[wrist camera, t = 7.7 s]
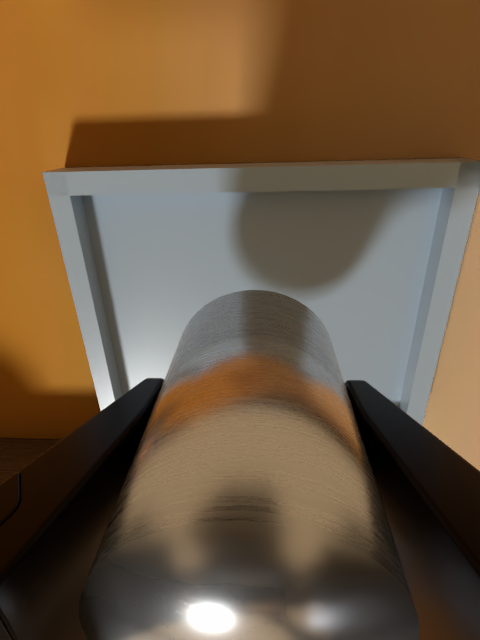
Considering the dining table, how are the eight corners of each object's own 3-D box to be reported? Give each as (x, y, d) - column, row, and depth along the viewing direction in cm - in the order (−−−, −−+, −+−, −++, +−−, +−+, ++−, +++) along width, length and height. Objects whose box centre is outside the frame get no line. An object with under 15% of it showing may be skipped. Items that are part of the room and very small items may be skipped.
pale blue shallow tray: (463, 157, 10) (486, 161, 9) (406, 419, 15) (417, 443, 14) (63, 167, 11) (42, 172, 10) (118, 415, 15) (107, 437, 14)
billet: (340, 289, 9) (455, 535, 4) (327, 422, 11) (391, 718, 5) (170, 290, 9) (38, 522, 4) (185, 420, 11) (111, 701, 6)
